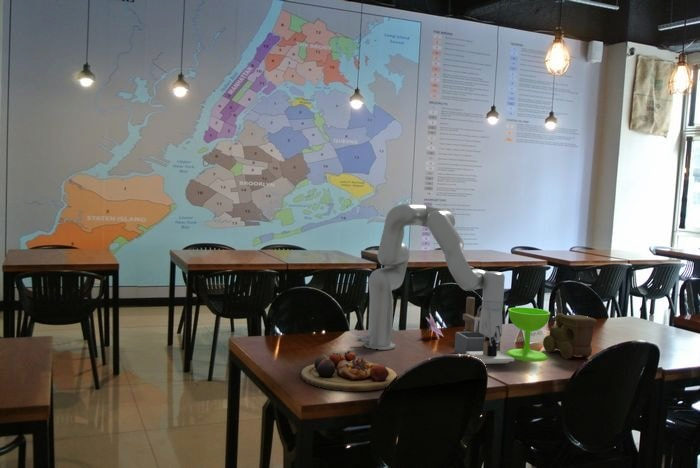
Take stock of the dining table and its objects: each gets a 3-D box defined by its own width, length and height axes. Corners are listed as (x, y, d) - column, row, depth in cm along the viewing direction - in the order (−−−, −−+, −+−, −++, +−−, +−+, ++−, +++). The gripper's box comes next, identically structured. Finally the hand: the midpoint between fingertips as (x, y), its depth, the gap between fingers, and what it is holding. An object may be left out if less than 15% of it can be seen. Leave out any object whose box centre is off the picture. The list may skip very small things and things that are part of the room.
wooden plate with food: (417, 385, 205) (418, 360, 205) (334, 398, 188) (335, 371, 187) (361, 363, 232) (361, 341, 232) (283, 373, 214) (284, 349, 214)
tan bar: (478, 327, 256) (479, 321, 256) (462, 319, 271) (463, 313, 271) (483, 327, 256) (483, 321, 256) (467, 319, 272) (467, 313, 272)
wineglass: (497, 352, 254) (499, 308, 253) (529, 350, 260) (532, 306, 259) (523, 362, 239) (526, 315, 238) (556, 360, 246) (559, 314, 245)
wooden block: (488, 338, 279) (490, 297, 278) (466, 339, 276) (469, 298, 275) (483, 336, 283) (486, 296, 282) (462, 337, 279) (464, 296, 278)
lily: (427, 343, 269) (439, 325, 268) (409, 328, 277) (421, 310, 276) (442, 348, 277) (454, 330, 276) (425, 333, 285) (436, 315, 284)
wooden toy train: (596, 361, 247) (599, 319, 246) (573, 362, 243) (575, 319, 242) (561, 348, 266) (564, 309, 265) (539, 350, 261) (542, 310, 260)
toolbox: (465, 359, 241) (467, 325, 240) (450, 349, 255) (452, 317, 254) (500, 358, 244) (502, 324, 244) (483, 349, 258) (485, 317, 258)
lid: (478, 364, 226) (479, 345, 225) (465, 356, 237) (466, 338, 236) (514, 363, 229) (515, 344, 229) (499, 356, 240) (501, 337, 240)
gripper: (473, 301, 239) (470, 349, 240) (493, 309, 223) (490, 361, 224) (491, 301, 240) (489, 349, 242) (512, 309, 225) (509, 360, 226)
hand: (489, 354), depth 233 cm, fingers closed on lid, 3 cm apart
